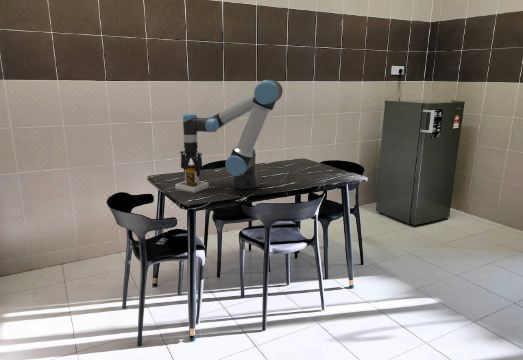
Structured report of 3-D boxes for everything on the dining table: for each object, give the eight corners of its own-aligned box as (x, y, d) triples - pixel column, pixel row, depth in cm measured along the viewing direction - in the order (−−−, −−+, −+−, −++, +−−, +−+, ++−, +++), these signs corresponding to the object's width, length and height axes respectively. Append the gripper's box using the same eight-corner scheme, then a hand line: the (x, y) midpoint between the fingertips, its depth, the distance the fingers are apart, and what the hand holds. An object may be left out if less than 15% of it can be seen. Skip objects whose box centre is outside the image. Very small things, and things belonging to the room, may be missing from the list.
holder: (208, 187, 231) (208, 182, 230) (194, 192, 220) (194, 187, 219) (189, 184, 238) (189, 179, 237) (175, 189, 227) (175, 184, 226)
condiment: (192, 188, 224) (191, 167, 221) (181, 185, 229) (180, 165, 226) (201, 185, 230) (200, 165, 227) (190, 183, 234) (189, 163, 231)
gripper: (208, 142, 221) (209, 181, 227) (181, 139, 230) (183, 177, 236) (200, 144, 214) (201, 184, 220) (172, 141, 223) (174, 180, 229)
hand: (192, 181), depth 228 cm, fingers open, 6 cm apart
